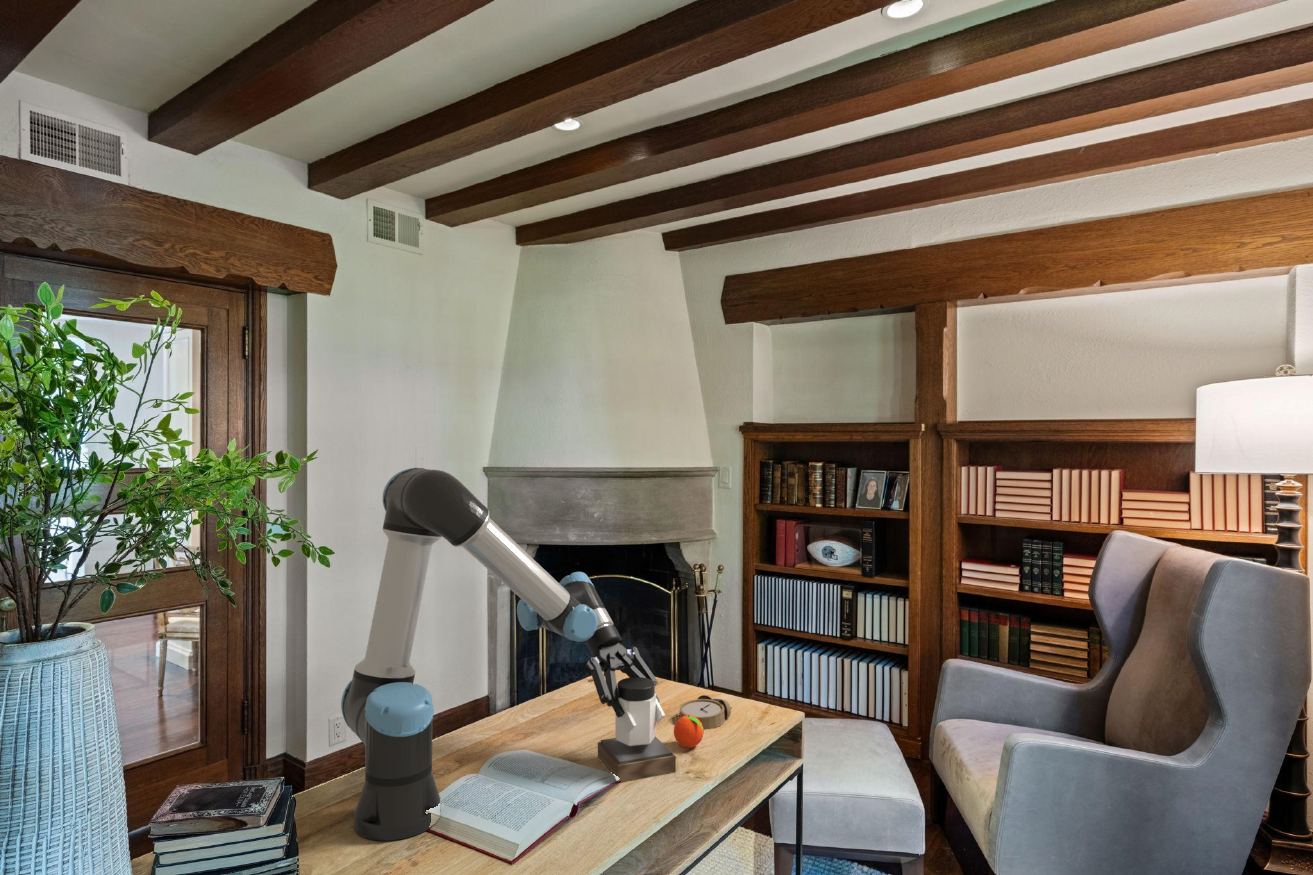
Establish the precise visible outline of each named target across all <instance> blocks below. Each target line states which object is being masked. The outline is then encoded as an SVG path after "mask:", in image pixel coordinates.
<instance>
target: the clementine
mask: <svg viewBox="0 0 1313 875" xmlns="http://www.w3.org/2000/svg"><path fill="white" fill-rule="evenodd" d="M704 730H705V729H703V726H702V723H701V722H700V720H699V719H697V718H696V717H694V716H691V715H686V716H683V717H681V718H680V719H677V721H676V722H675V724H674V727H673V736H674V738H675V740H676V742H677V744H679V745H680V746H682V747H684V748H688V749H689V748H690V749H691V748H694V747H696V746H698V745H699V744H700V743H701V742H702V740H703V738H704Z"/></svg>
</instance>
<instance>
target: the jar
mask: <svg viewBox="0 0 1313 875" xmlns="http://www.w3.org/2000/svg"><path fill="white" fill-rule="evenodd" d="M655 688H656V686H655V683H654V681H652V680H650V679H647V678H642V677H630V678H629V677H625V678H622V679H620V680H618V682H617V690H618V700H619V698H622V699H623V701H624V703H625V705H626V707H627V709H628V711H629V712H630V713H631V715H632V717H633V719H634V721H635V723H636V726H635V727H634V728H633V729H632V730H631V732H627V730H626V728H625V726H624V724H623V722H622V720H621V718H620V717H619V718H618V717H617V715H616V714H615V721H614V722H615V729H614V730H615V735H614V736H615V737H614V738H615V739H616V740H617V741H619V742H622V743H624V744H626V745H628V746H636V745H646V744H650V743H651V742H652V740H653V739H654V737H656V736H657V722H656V695H657V693H656V691H655V690H656V689H655Z"/></svg>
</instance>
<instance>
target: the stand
mask: <svg viewBox="0 0 1313 875" xmlns="http://www.w3.org/2000/svg"><path fill="white" fill-rule="evenodd" d="M598 758H599V759H600V760H601V761H600V760H599V759H598ZM597 759H598V760H599V761H600V763H601V762H602V763H603V764H604V765H605V766H604V765H603V764H602V763H601V764H602V765H603V766H604V768H605V769H606V768H607V769H608V770H609V771H610V772H612V774H615V775H616V776H618V777H619V778H620V779H621V781H622V782H621V783H624V782H631V781H635V780H640V779H646V778H651V777H652V778H653V777H657V776H663V775H667V774H672V773H676V771H677V768H676V766H677V765H676V764H677V763H676V762H677V760H676V759H677V756H676V755H675V754H674V753H673V751H672V750H670V748H668V747H667V746H666V744H664V743H663V742H662V741H661V740H660V739H658V737H656V736H655V737H654V739H653V740H652V742H651V743H650V744H646V745H636V746H628V745H626V744H624V743H622V742H619V741H617V740H616V739H615V737H613V738H607V739H600V741H599V742H597ZM607 769H606V770H607ZM608 770H607V771H608ZM609 771H608V772H609ZM610 772H609V773H610Z"/></svg>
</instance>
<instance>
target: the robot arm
mask: <svg viewBox="0 0 1313 875" xmlns="http://www.w3.org/2000/svg"><path fill="white" fill-rule="evenodd" d="M382 505H383V508H384V510H385V515H384V519H383V523H382V524H383V525H382V531H383V533H384V535H385V536H386V537H387V540H388V541H387V545H386V550H385V555H384V559H383V565H382V569H381V570H382V571H381V576H380V581H379V585H378V590H377V594H376V595H377V596H376V600H375V601H376V602H375V606H374V611H373V614H372V615H373V616H372V620H371V627H370V630H369V635H368V641H367V647H366V652H365V656H364V659H362V660H361V661H360V662H358V663H357V664H355V666H354V669H353V675H352V679H351V680H350V681H349V682H348V684H347V685H346V687H345V688H344V690H343V692H342V697H341V702H340V708H341V714H342V716H343V719H344V722H345V723H346V726H347V727H348V728H349V729H350V730H351V731H352V732H353V733H354V734H355V735H356V736H357V737H358V738H359V740H360V741H361V742H362V743H363V745H364V748H365V751H364V752H365V754H364V755H365V756H364V759H365V761H364V762H365V763H364V766H365V767H364V771H365V773H364V784H363V787H362V790H361V793H360V795H359V798H358V801H357V805H356V806H355V807H356V808H355V810H354V817H353V827H354V831H355V832H356V834H358V835H359V836H360V837H363V838H365V839H368V840H372V841H397V840H401V839H402V840H404V839H407V838H410V837H414V836H417V835H419V834H423V833H424V832H426V831H428V830H430V828H429V826H430V823H431V813H428V814H426V813H425V812H426V810H429V809H430V808H434V807H436V806H438V804H439V803H440V799H441V797H440V793H439V790H438V788H437V783H436V781H435V779H434V775H433V730H434V729H433V727H434V726H433V724H434V723H433V722H434V720H433V719H434V710H435V709H434V704H433V697H432V694H431V692H430V691H429V690H428V689H427V688H426V687H424V686H423V685H420V684H418V683H415V684H414V680H415V675H416V670H415V668H414V667H413V666H412V665H411V662H410V661H411V655H412V650H413V645H414V640H415V634H416V630H417V625H418V619H419V614H420V608H421V604H422V599H423V593H424V589H425V582H426V578H427V572H428V567H429V561H430V556H431V551H432V547H433V545H434V544H435V543H436V542H438V541H439V540H441V539H442V538H443V539H444V540H446V541H447V542H448V543H449V544H450V545H451V546H453V547H455V548H456V547H462V548H463V549H464V550H465V551H467V552H468V554H470V556H473V557H474V558H475V559H476V560H477V561H478V562H479V563H480V564H481V565H482V566H484V567H485V568H486V569H487V570H488V571H490V573H492V574H493V576H495V577H496V578H497V579H498V580H499V581H500V582H502V583H503V584H504V585H505V586H506V587H507V588H508V589H509V590H510V591H512V592H513V593H515V595H516V596H518V598H520V600H518V603H517V605H516V606H517V607H516V615H517V618H518V622H519V624H520V626H521V628H523V629H524V630H525V631H527V632H529V631H530V632H531V631H534V630H536V631H537V630H538V629H542V628H544V629H546V630H548V631H550V632H552V633H555V634H558V635H560V636H562V637H564V638H566V639H567V640H570V641H575V642H578V643H580V642H585V643H586V645H587V648H588V649H589V652H590V654H591V655H592V657H591V658H590V659H589V660H588V661H587V663H586V664H585V667H586V668H587V670H588V671H589V672H590V675H591V677H592V680H593V683H594V686H595V689H596V692H597V693H596V694H597V695H598V698H599V701H600V703H601V704H602V705H605V704H606V706H607V707H610V708H612V709H613V711H614V714H615V716H616V715H617V717H618V718H619V717H620V718H621V720H622V722H623V724H624V726H625V728H626V730H627V732H631V730H632V729H633V728H634V727H635V726H636V723H635V721H634V719H633V717H632V715H631V713H630V712H629V711H628V709H627V707H626V705H625V703H624V701H623V699H622V698H619V700H618V690H617V683H618V682H617V676H616V671H620V672H621V673H623V674H625V675H626V676H627V678H630V677H642V678H647V679H650V680H652V681H654V683H655V687H656V686H657V685H658V684H659V681H658V679H657V678H656V676H655V675H654V674H653V672H652V671H651V670H650V668H649V667H648V665H647V664H646V662H645V661H644V659H643V658H642V657H641V655H640V652H639V649H638V648H637V647H636V646H634V647H632V648H631V649H627V648H626V647H625V646H624V645H623V643H622V642H623V641H622V637H621V635H620V633H619V631H618V629H617V628H616V626H615V625H614V622H613V620H612V618H611V616H610V615H609V612H608V611H607V609H606V607H605V605H604V602H603V601H602V599H601V598H600V596H599V594H598V591H597V590H596V587H595V585H594V584H593V583H592V581H591V579H590V578H589V576H588V574H586V573H585V572H582V571H575V572H572V573H570V574H569V575H566V576H564V577H563V578H562V579H561V580H560V581H559V582H558V581H557V580H556V579H555V577H553V576H552V575H551V574H550V573H549V572H548V571H547V570H546V569H544V568H543V567H542V566H541V564H539V563H538V562H537V561H536V560H535V559H533V557H532V556H531V555H530V554H528V553H527V552H526V551H525V550H524V549H523V548H522V547H521V546H520V545H519V544H518V543H517V542H516V541H515V540H514V539H513V538H512V537H511V536H509V534H508V533H506V532H505V530H503V529H502V528H501V527H500V526H499V525H498V524H497V523H496V522H495V521H494V520H493V519H491V518H490V510H489V509H488V508H487V506H485V505H484V504H483V503H482V502H481V501H480V500H479V498H477V497H476V496H475V495H474V494H473V493H472V492H471V491H470V489H468V488H467V487H466V486H465V485H464V484H463V483H462V482H461V481H460V480H459V479H457V478H456V477H455V476H454V475H452V474H450V473H449V472H447V471H444V470H440V469H439V470H438V469H427V468H424V467H412V468H411V467H410V468H408V469H407V468H406V469H404V470H401V471H399V472H397V473H395V474H394V475H393V476H392V477H391V478H390V479H389V480H388V482H387V483H386V485H384V489H383V491H382ZM665 717H666V714H665V711H664V710H663V708H662V705H661V704H660V698H659V697H658V695H657V694H656V723H659V722H660V721H661V720H663V718H665Z"/></svg>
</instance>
